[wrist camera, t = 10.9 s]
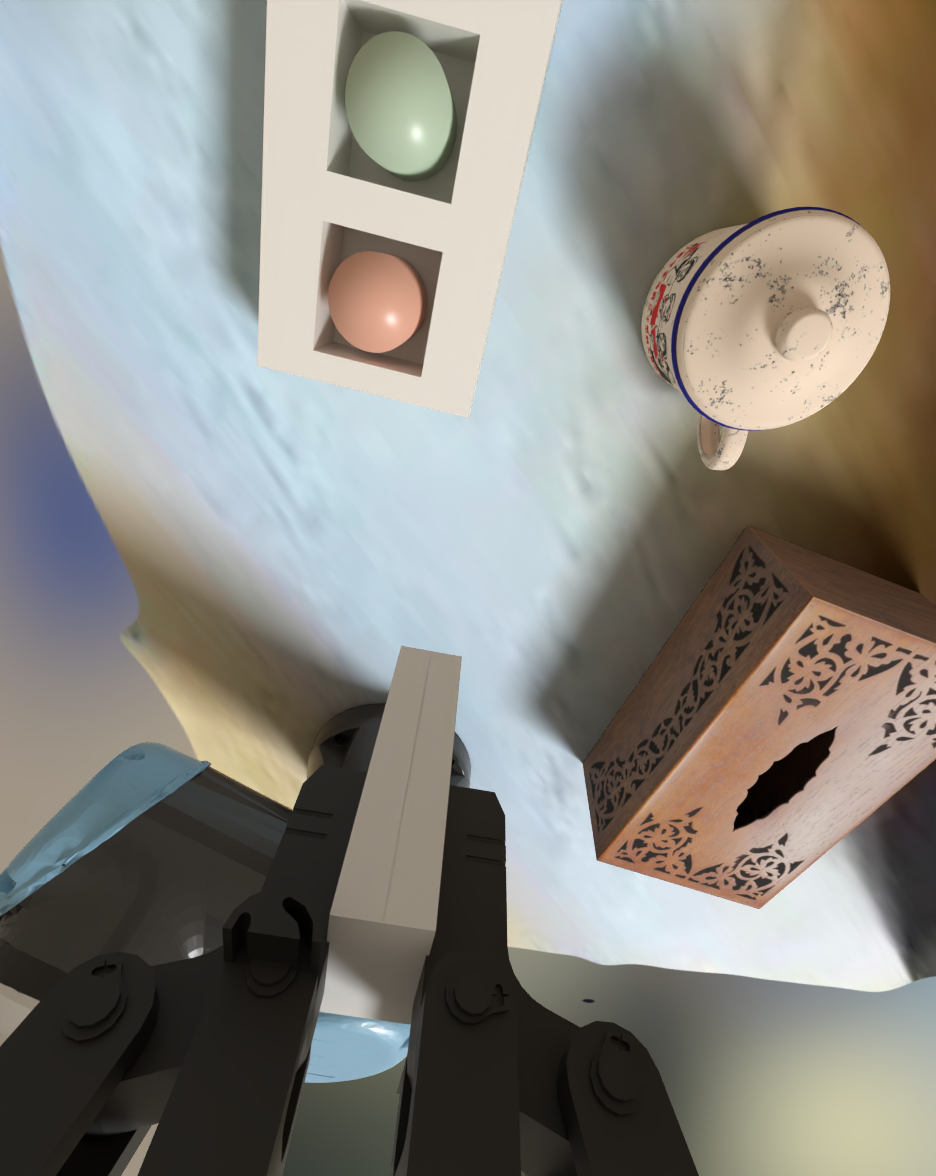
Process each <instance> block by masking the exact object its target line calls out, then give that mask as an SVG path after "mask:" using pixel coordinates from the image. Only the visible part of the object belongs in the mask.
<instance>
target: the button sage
mask: <svg viewBox="0 0 936 1176" xmlns="http://www.w3.org/2000/svg"><path fill="white" fill-rule="evenodd" d="M345 105H346V112H347V117H348V121H349V125H350V127H351V130H352V133H353V135H354V137H355V139H356V140H357V142H358V144H359V145H360V147H361V148H362V149H363V150H364V151H365V153H366V154H367V155H368V156H369V157H371V158H372V159H373V160H374V161H375V162H377V163H378V164H379V165H380V166H382V167H383V168H384V169H385V170H387V171H388V172H389V173H390V174H392V175H393V176H395V177H397V178H399V179H402V180H406V181H421V180H425V179H427V178H429V177H431V176H433V175H434V174H436V173H437V172H438V171H439V170H440V169H441V168H442V167H443V166H444V165H445V164H446V162H447V160H448V159H449V157H450V155H451V153H452V151H453V148H454V145H455V140H456V135H457V114H456V108H455V104H454V101H453V98H452V95H451V92H450V89H449V86H448V83H447V80H446V77H445V74H444V71H443V69H442V67H441V64H440V63H439V61H438V59H437V57H436V56H435V54H434V53H433V52H432V50H431V49H430V48H429V47H428V46H427V45H426V44H425V43H424V42H422V41H421V40H420V39H418V38H416V37H415V36H413V35H410V34H408V33H405V32H399V31H390V32H384V33H382V34H379V35H377V36H375V37H373V38H372V39H370V40H369V41H368V42H367V43H365V44H364V45H363V47H362V48H361V49H360V50H359V52H358V53H357V54H356V56H355V58H354V60H353V62H352V64H351V67H350V69H349V72H348V76H347V81H346V88H345Z"/></svg>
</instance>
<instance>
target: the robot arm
mask: <svg viewBox="0 0 936 1176" xmlns="http://www.w3.org/2000/svg"><path fill="white" fill-rule="evenodd" d="M461 659H462V657H461V656H455V655H450V654H444V653H438V652H433V651H427V650H421V649H416V648H410V647H405V646H401V649H400V653H399V657H398V661H397V664H396V668H395V672H394V676H393V679H392V683H391V687H390V690H389V694H388V698H387V702H386V704H375V705H365V706H360V707H356V708H352V709H349V710H347V711H344V712H342V713H340V714H338V715H337V716H335V717H334V718H332V719H331V720H330V721H328V722H327V723H326V724H325V725H324V727H323V728H322V729H321V731H320V732H319V734H318V736H317V738H316V740H315V743H314V745H313V748H312V750H311V753H310V755H309V759H308V764H307V780H306V781H305V782H304V783H303V785H302V788H301V790H300V793H299V795H298V798H297V800H296V803H295V806H294V809H293V810H292V809H290V808H288V807H286V806H284V805H282V804H280V803H278V802H276V801H274V800H272V799H270V798H268V797H266V796H265V795H263V794H261V793H259V792H257V791H255V790H253V789H251V788H249V787H247V786H245V785H243V784H241V783H239V782H237V781H236V780H234V779H232V778H230V777H228V776H226V775H224V774H223V773H221V772H219V771H217V770H215V769H213V768H211V767H210V765H211V763H210V762H208V761H199V760H197V759H194V758H192V757H190V756H188V755H185V754H183V753H181V752H179V751H177V750H174V749H172V748H170V747H167V746H166V745H163V744H160V743H155V742H146V743H140V744H137V745H134V746H132V747H130V748H128V749H127V750H125V751H123V752H122V753H121V754H119V755H118V756H117V757H116V758H114V759H113V760H112V761H111V762H110V763H109V764H108V765H106V766H105V767H104V768H103V769H102V770H101V771H100V772H99V773H98V774H97V775H96V776H95V777H93V778H92V779H91V781H89V782H88V783H87V784H86V785H85V786H84V787H83V788H82V789H81V790H80V791H79V792H78V793H77V794H76V795H75V796H74V797H73V798H72V799H71V800H70V801H69V802H68V803H67V804H66V805H65V806H64V807H63V808H62V809H61V810H60V811H59V812H58V813H57V814H56V815H55V816H54V817H53V818H52V819H51V820H50V821H49V822H48V823H47V824H46V825H45V826H44V827H43V828H42V829H41V830H40V831H39V832H38V833H37V834H36V835H35V836H34V838H32V840H31V841H30V842H29V843H28V844H27V845H26V846H25V847H24V848H23V849H22V850H21V851H20V852H19V853H18V855H17V856H16V857H15V858H14V859H13V860H12V861H11V862H10V864H9V866H8V867H7V868H6V869H5V870H4V871H3V872H2V873H1V875H0V1176H121V1175H122V1173H123V1171H124V1170H125V1168H126V1166H127V1165H128V1163H129V1161H130V1160H131V1158H132V1157H133V1155H134V1153H135V1152H136V1150H137V1148H138V1147H139V1145H140V1144H141V1142H142V1140H143V1139H144V1137H145V1135H146V1134H147V1132H148V1130H149V1129H150V1127H151V1125H153V1124H157V1123H159V1124H158V1126H157V1129H156V1131H155V1134H154V1136H153V1139H152V1141H151V1144H150V1146H149V1149H148V1151H147V1153H146V1156H145V1159H144V1161H143V1163H142V1166H141V1168H140V1171H139V1173H138V1176H282V1174H283V1169H284V1165H285V1161H286V1157H287V1152H288V1149H289V1144H290V1140H291V1136H292V1132H293V1127H294V1123H295V1119H296V1115H297V1111H298V1107H299V1102H300V1099H301V1094H302V1090H303V1086H304V1082H310V1083H324V1082H338V1081H347V1080H354V1079H359V1078H363V1077H367V1076H371V1075H375V1074H377V1073H380V1072H383V1071H385V1070H387V1069H389V1068H391V1067H393V1066H395V1065H396V1064H397V1063H399V1062H400V1061H402V1060H403V1059H404V1058H405V1057H406V1056H407V1059H406V1062H405V1066H404V1069H403V1073H402V1076H401V1080H400V1083H399V1087H398V1090H397V1093H399V1094H400V1099H399V1106H398V1114H397V1122H396V1131H395V1139H394V1147H393V1155H392V1163H391V1171H390V1176H521V1171H523V1172H524V1173H525V1175H526V1176H699V1175H698V1172H697V1170H696V1167H695V1165H694V1162H693V1159H692V1157H691V1154H690V1151H689V1149H688V1146H687V1144H686V1141H685V1138H684V1136H683V1133H682V1131H681V1128H680V1125H679V1123H678V1120H677V1118H676V1115H675V1113H674V1110H673V1107H672V1105H671V1102H670V1100H669V1097H668V1094H667V1092H666V1089H665V1086H664V1084H663V1081H662V1079H661V1076H660V1073H659V1071H658V1069H657V1067H656V1066H655V1064H654V1062H653V1060H652V1058H651V1056H650V1054H649V1052H648V1051H647V1049H646V1048H645V1047H644V1046H643V1045H642V1044H641V1043H640V1042H639V1041H638V1039H637V1038H635V1036H634V1035H633V1034H632V1033H631V1032H629V1031H627V1030H626V1029H624V1028H622V1027H620V1026H618V1025H617V1024H615V1023H611V1022H601V1021H595V1022H593V1023H590V1024H589V1025H586V1026H584V1027H581V1028H580V1027H578V1026H576V1025H575V1024H573V1023H571V1022H569V1021H568V1020H566V1019H564V1018H562V1017H561V1016H558V1015H557V1014H555V1013H553V1012H552V1011H550V1010H548V1009H546V1008H545V1007H543V1006H542V1005H540V1004H539V1003H538V1002H536V1001H535V1000H533V999H532V998H531V997H530V995H529V994H528V993H527V992H526V991H525V990H524V989H523V988H522V987H521V985H520V983H519V981H518V980H517V978H516V976H515V975H514V972H513V969H512V966H511V964H510V961H509V955H508V948H507V902H506V867H505V863H506V846H505V814H504V812H503V810H502V808H501V805H500V803H499V801H498V799H497V797H496V794H495V792H489V791H483V790H477V789H471V788H469V786H470V774H471V764H470V758H469V755H468V752H467V750H466V748H465V746H464V744H463V743H462V741H461V740H460V739H459V737H458V736H457V735H456V734H455V722H456V712H457V701H458V691H459V680H460V669H461Z"/></svg>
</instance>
